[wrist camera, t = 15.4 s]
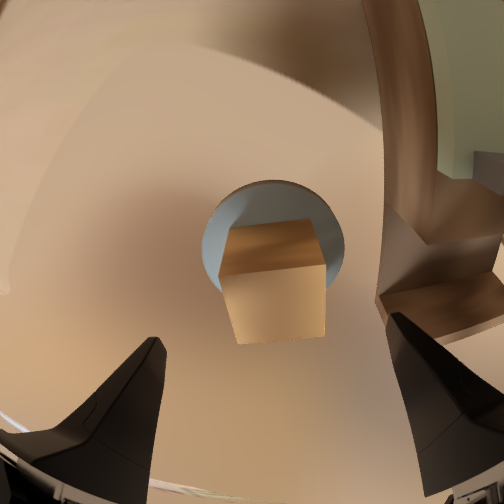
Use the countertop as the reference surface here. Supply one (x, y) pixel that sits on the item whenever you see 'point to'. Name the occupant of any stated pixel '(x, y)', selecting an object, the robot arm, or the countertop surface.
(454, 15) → the cover
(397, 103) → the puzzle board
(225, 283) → the block
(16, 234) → the countertop surface
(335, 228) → the grey dome cap
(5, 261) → the countertop surface
